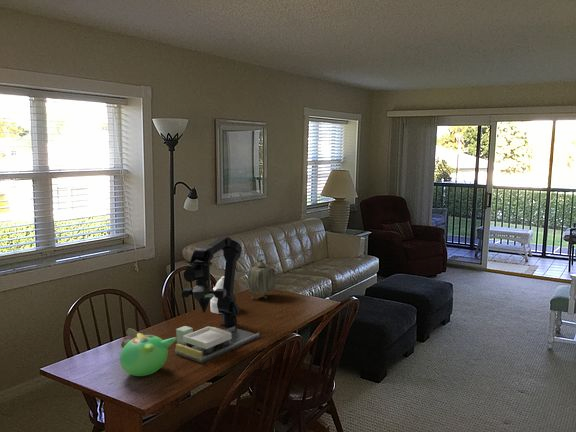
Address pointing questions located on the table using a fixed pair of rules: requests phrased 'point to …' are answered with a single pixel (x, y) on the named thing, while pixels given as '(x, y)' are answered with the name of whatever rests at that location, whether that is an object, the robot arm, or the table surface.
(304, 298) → the table surface
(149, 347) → the green rounded figure
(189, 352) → the track
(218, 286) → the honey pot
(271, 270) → the tabletop clock
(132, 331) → the grey angular piece
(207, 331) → the white square tray
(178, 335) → the green block
